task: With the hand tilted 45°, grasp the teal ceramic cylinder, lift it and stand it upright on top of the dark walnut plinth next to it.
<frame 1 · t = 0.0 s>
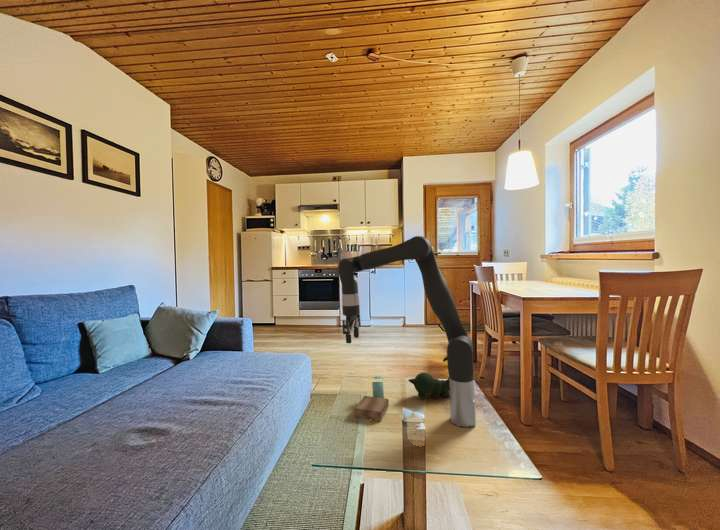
hand: (352, 340, 136), 29 cm above the table, tool pointing down, fingers open, 8 cm apart
walnut plinth: (372, 412, 130), on the table
toy figurine: (435, 396, 142), on the table
teal cylinder: (378, 400, 141), on the table
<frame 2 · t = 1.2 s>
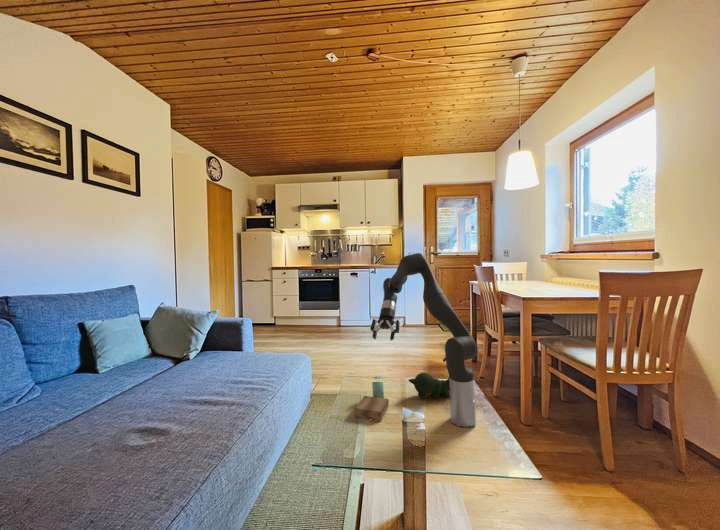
hand: (382, 339, 150), 25 cm above the table, tool tilted 45°, fingers open, 8 cm apart
nothing on the table moved.
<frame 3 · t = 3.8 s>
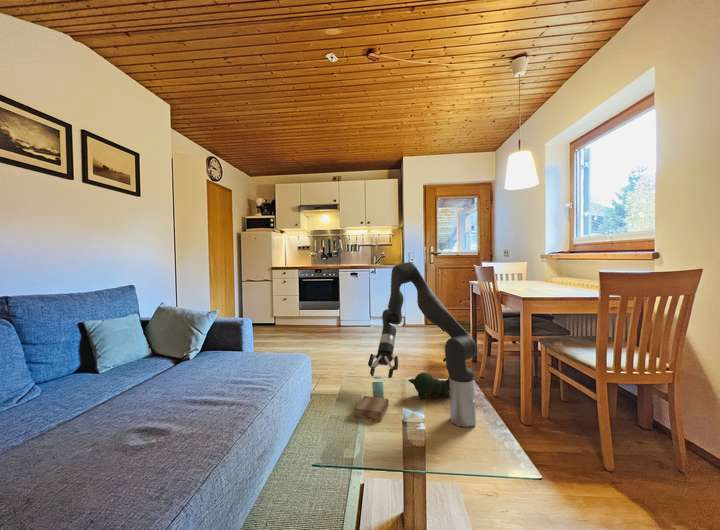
hand: (380, 376, 144), 9 cm above the table, tool tilted 45°, fingers open, 8 cm apart
nothing on the table moved.
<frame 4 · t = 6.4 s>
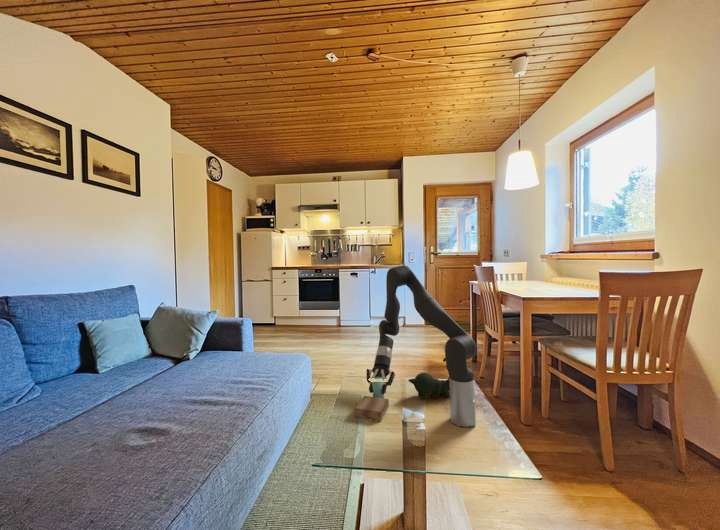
hand: (376, 392, 139), 4 cm above the table, tool tilted 45°, fingers closed on teal cylinder, 5 cm apart
teal cylinder: (378, 400, 141), on the table, touching gripper
everything else where it was.
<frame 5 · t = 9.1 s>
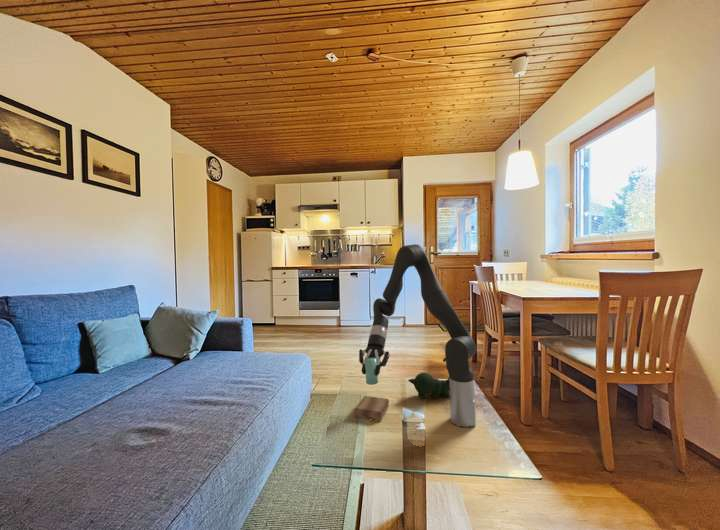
hand: (369, 374, 129), 17 cm above the table, tool tilted 45°, fingers closed on teal cylinder, 5 cm apart
teal cylinder: (371, 382, 131), point 13 cm above the table, touching gripper
everything else where it was.
when the fingers open (10 cm above the table, at t = 11.9 s): teal cylinder drops 1 cm, resting on walnut plinth.
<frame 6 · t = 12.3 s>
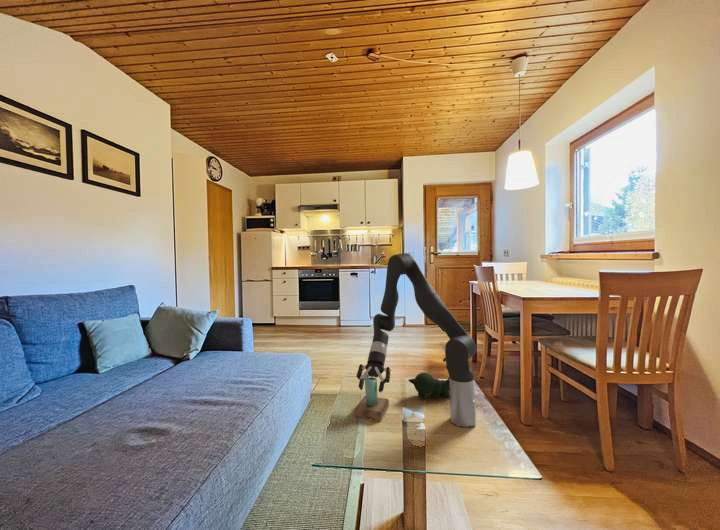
hand: (370, 390, 128), 10 cm above the table, tool tilted 45°, fingers open, 8 cm apart
teal cylinder: (371, 403, 130), point 4 cm above the table, touching walnut plinth
everything else where it was.
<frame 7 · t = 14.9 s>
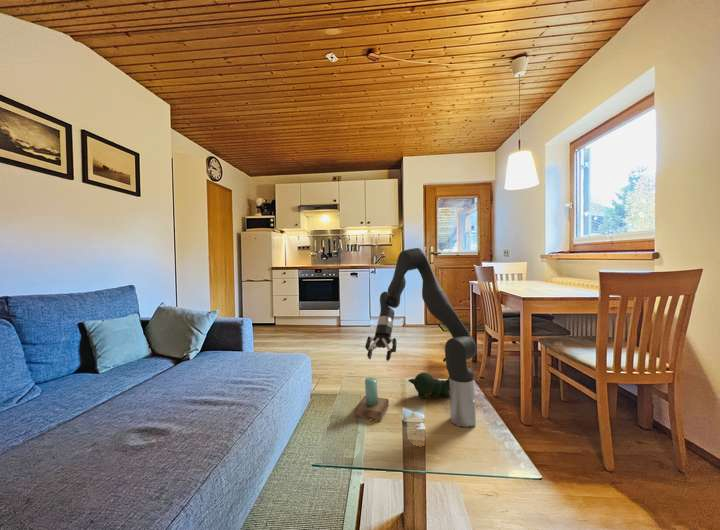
hand: (378, 359, 139), 19 cm above the table, tool tilted 45°, fingers open, 8 cm apart
nothing on the table moved.
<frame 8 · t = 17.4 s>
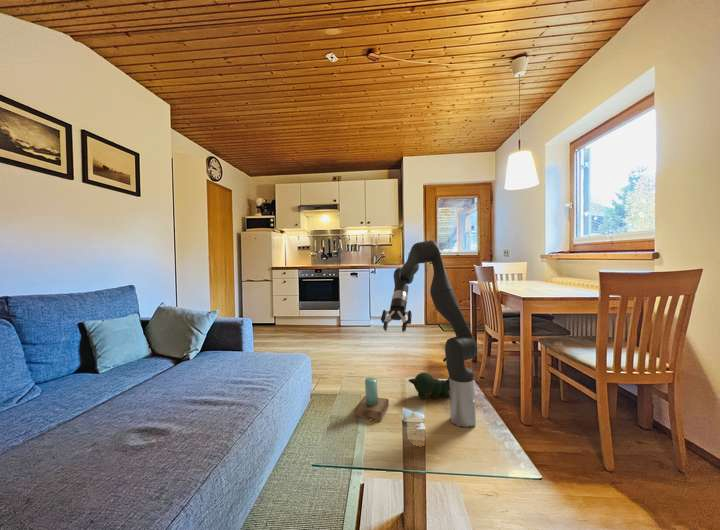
hand: (394, 330, 143), 31 cm above the table, tool tilted 45°, fingers open, 8 cm apart
nothing on the table moved.
at the end: teal cylinder inside the target area on the walnut plinth (0.1 cm from its centre), point 4.0 cm above the walnut plinth's base; teal cylinder tilted 1°; the gripper is holding nothing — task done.
